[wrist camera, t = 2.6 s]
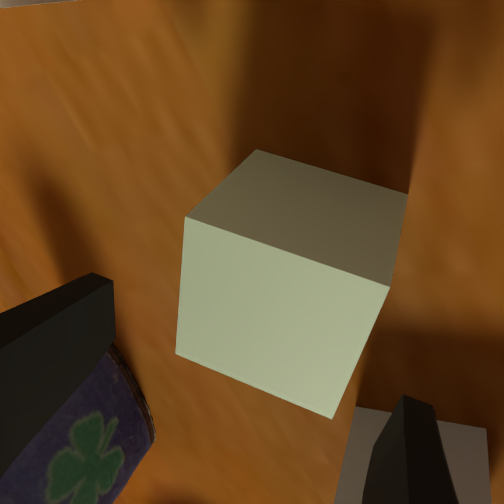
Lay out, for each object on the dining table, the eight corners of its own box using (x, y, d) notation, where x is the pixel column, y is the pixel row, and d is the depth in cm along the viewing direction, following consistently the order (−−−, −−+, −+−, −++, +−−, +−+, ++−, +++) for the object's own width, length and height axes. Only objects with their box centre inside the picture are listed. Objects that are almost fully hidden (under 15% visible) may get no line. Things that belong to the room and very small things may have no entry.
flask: (73, 325, 24) (-134, 525, 15) (117, 331, 23) (-81, 550, 14) (127, 438, 28) (-10, 641, 20) (166, 448, 27) (38, 667, 19)
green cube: (408, 193, 14) (389, 287, 10) (360, 310, 17) (332, 419, 13) (257, 148, 15) (185, 216, 11) (237, 266, 18) (175, 354, 14)
